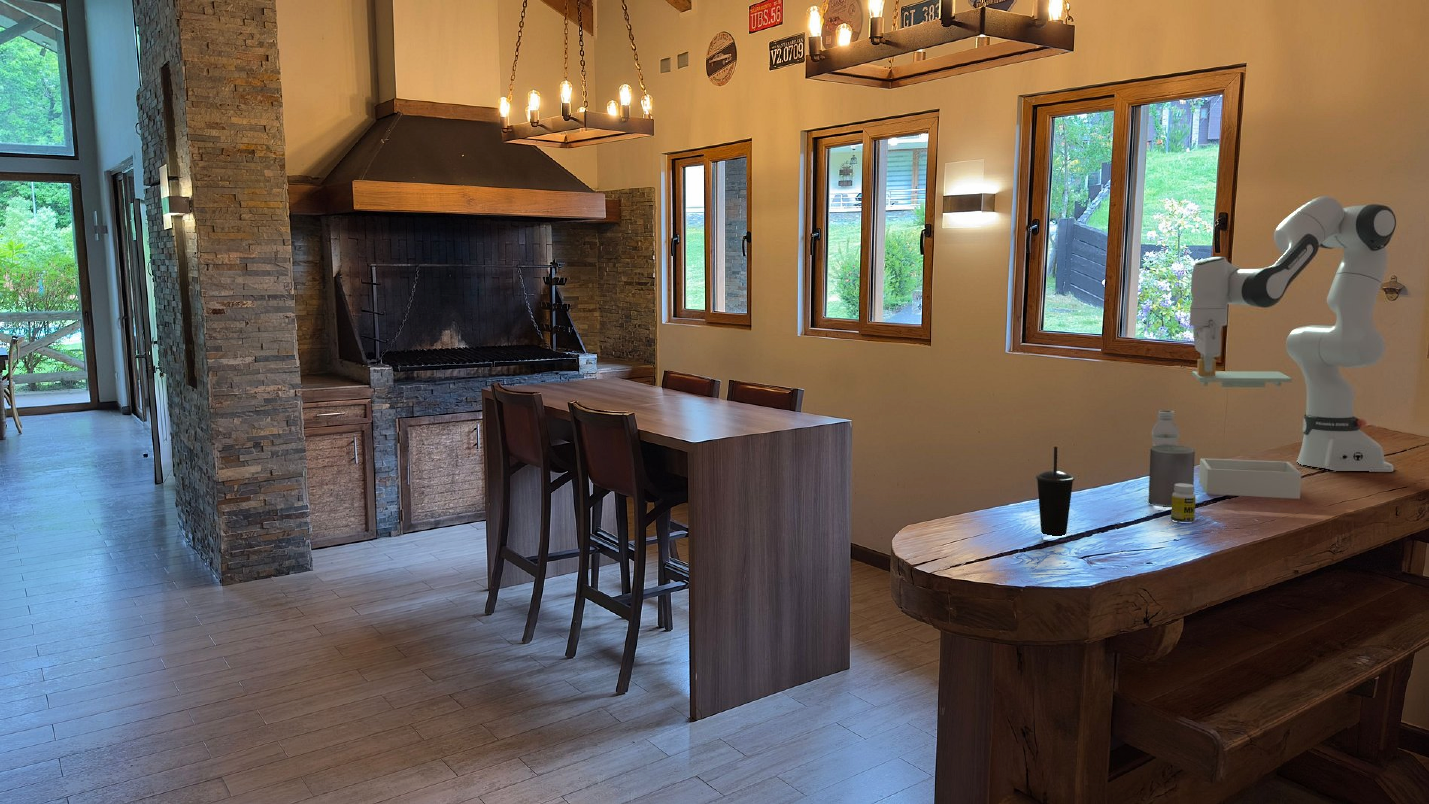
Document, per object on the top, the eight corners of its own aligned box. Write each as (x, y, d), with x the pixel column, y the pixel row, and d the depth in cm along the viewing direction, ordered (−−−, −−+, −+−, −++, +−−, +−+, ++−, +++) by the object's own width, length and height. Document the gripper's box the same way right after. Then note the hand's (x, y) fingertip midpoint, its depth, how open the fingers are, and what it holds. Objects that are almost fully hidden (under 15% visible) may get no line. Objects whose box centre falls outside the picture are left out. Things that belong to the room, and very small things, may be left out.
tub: (1287, 488, 240) (1288, 461, 240) (1299, 501, 227) (1301, 473, 226) (1199, 484, 247) (1200, 458, 246) (1206, 497, 234) (1207, 469, 233)
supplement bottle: (1185, 525, 210) (1186, 488, 209) (1166, 520, 214) (1167, 484, 213) (1199, 522, 212) (1200, 485, 211) (1180, 517, 216) (1181, 481, 215)
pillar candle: (1152, 497, 235) (1154, 438, 233) (1196, 502, 229) (1198, 441, 227) (1144, 506, 227) (1146, 445, 225) (1189, 511, 221) (1191, 448, 219)
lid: (1278, 380, 256) (1279, 356, 255) (1291, 388, 242) (1292, 362, 241) (1191, 380, 263) (1192, 356, 262) (1199, 387, 249) (1200, 362, 248)
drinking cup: (1068, 546, 197) (1070, 451, 194) (1030, 541, 201) (1032, 448, 198) (1076, 537, 203) (1078, 445, 200) (1039, 532, 207) (1041, 442, 204)
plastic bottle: (1171, 485, 248) (1174, 409, 245) (1181, 490, 241) (1184, 413, 238) (1145, 485, 248) (1148, 409, 246) (1154, 491, 242) (1157, 413, 239)
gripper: (1228, 321, 242) (1226, 375, 244) (1215, 316, 261) (1214, 366, 263) (1200, 321, 244) (1198, 375, 246) (1190, 316, 263) (1188, 366, 265)
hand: (1206, 370), depth 254 cm, fingers closed on lid, 3 cm apart
